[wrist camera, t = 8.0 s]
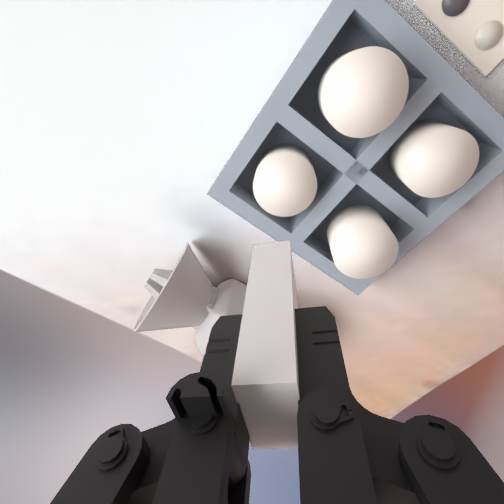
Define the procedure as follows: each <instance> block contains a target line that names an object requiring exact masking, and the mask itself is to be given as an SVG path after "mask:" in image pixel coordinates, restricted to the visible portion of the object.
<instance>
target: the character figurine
mask: <svg viewBox="0 0 504 504" xmlns="http://www.w3.org/2000/svg"><path fill="white" fill-rule="evenodd" d="M150 278H151V279H150ZM150 278H149V279H148V281H147V283H146V284H145V288H146V289H147V290H148V291H149V292H150V294H151V295H152V296H151V298H150V300H149V301H148V303H147V305H146V307H145V309H144V310H143V312H142V314H141V316H140V318H139V320H138V322H137V324H136V326H135V328H134V332H141V331H152V330H162V329H172V328H183V327H193V328H195V329H196V330H195V334H194V341H195V346H196V349H197V351H198V352H199V353H200V354H201V355H202V356H203V357H204V355H205V353H206V347H207V343H208V342H209V341H208V340H209V336H210V332H211V328H212V326H213V325H214V324H215V323H216V321H217V320H218V319H219V317H220V316H226V315H239V314H243V308H244V301H245V295H246V289H247V285H245V284H243V283H242V282H240V281H238V280H236V279H228V280H226V281H224V282H222V283H220V284H219V285H218V286H217V287H214V286H212V284H211V282H210V280H209V279H208V277H207V275H206V273H205V272H204V270H203V268H202V266H201V265H200V263H199V261H198V259H197V258H196V256H195V254H194V252H193V251H192V249H191V247H190V245H189V244H188V243H186V247H185V249H184V252H183V254H182V255H181V257H180V259H179V261H178V263H177V265H176V267H175V268H174V270H173V271H171V270H162V269H155V270H154V272H153V273H152V275H151V277H150Z"/></svg>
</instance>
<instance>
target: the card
mask: <svg viewBox="0 0 504 504" xmlns="http://www.w3.org/2000/svg"><path fill="white" fill-rule="evenodd" d="M413 5H414V6H415V7H416V8H417V9H418V10H419V11H420V12H421V13H422V14H423V15H424V16H425V17H426V18H427V19H428V20H429V21H430V22H431V23H432V24H433V25H434V26H435V27H436V29H437V30H438V31H439V32H440V33H441V34H442V35H443V36H444V37H445V38H446V39H447V40H448V41H449V42H450V43H451V44H452V45H453V46H454V47H455V48H456V49H457V50H458V51H459V52H460V53H461V54H462V55H463V56H464V57H465V58H466V59H467V60H468V61H469V62H470V63H471V64H472V65H473V66H474V67H475V68H476V69H477V70H478V71H479V72H480V73H481V74H482V75H483V76H485V77H486V76H487V75H488V74H489V73H490V72H491V71H492V70H493V69H494V68H495V67H496V65H497V64H498V63H499V62H500V61H501V60H502V59H503V58H504V0H417V1H416V2H415V3H414V4H413Z"/></svg>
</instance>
